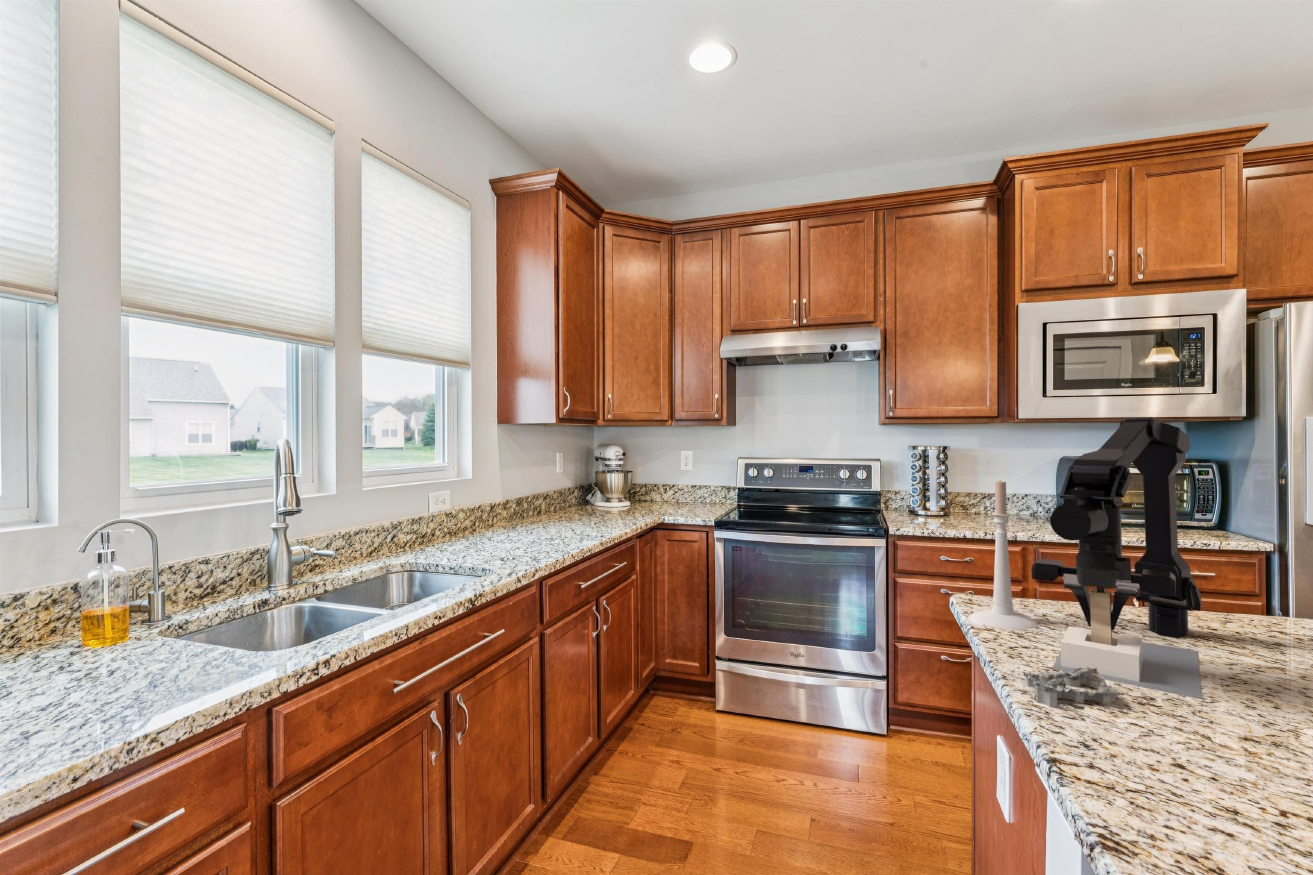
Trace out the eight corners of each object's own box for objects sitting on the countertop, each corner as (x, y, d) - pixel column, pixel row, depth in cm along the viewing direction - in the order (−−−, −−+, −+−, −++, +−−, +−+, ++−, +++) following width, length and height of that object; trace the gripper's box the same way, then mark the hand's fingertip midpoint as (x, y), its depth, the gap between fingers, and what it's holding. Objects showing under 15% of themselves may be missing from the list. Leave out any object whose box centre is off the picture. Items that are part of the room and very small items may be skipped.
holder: (1069, 648, 104) (1069, 626, 104) (1142, 662, 98) (1142, 638, 98) (1061, 665, 97) (1060, 641, 97) (1139, 681, 90) (1138, 655, 90)
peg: (1093, 647, 99) (1091, 581, 99) (1112, 651, 98) (1111, 583, 98) (1091, 652, 97) (1089, 584, 97) (1111, 655, 96) (1109, 587, 96)
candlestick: (1000, 638, 113) (997, 482, 113) (954, 618, 126) (951, 478, 126) (1056, 632, 116) (1053, 480, 116) (1005, 613, 129) (1002, 476, 129)
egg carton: (1100, 694, 89) (1100, 667, 89) (1124, 716, 82) (1123, 687, 82) (1020, 686, 92) (1020, 660, 92) (1036, 708, 85) (1036, 679, 85)
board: (1071, 635, 114) (1071, 629, 114) (1197, 656, 102) (1197, 651, 102) (1052, 674, 96) (1051, 668, 96) (1201, 705, 84) (1201, 698, 84)
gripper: (1024, 535, 98) (1026, 629, 98) (1174, 547, 85) (1176, 655, 85) (1036, 526, 106) (1038, 613, 106) (1174, 536, 94) (1176, 634, 94)
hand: (1101, 627), depth 97 cm, fingers closed on peg, 3 cm apart
